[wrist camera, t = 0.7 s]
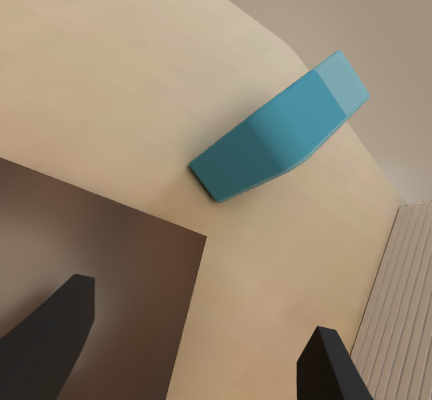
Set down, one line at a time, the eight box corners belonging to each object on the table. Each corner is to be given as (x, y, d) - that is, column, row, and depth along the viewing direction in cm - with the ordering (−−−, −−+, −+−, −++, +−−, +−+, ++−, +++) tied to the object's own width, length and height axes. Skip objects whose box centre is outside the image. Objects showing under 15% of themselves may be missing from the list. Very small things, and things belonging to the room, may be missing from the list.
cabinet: (-120, 402, 19) (-192, 458, 13) (-7, 187, 24) (-18, 150, 18) (113, 431, 24) (145, 480, 18) (167, 248, 29) (207, 236, 23)
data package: (259, 110, 38) (347, 43, 27) (282, 144, 38) (377, 90, 28) (182, 168, 31) (258, 108, 21) (212, 207, 32) (300, 167, 22)
